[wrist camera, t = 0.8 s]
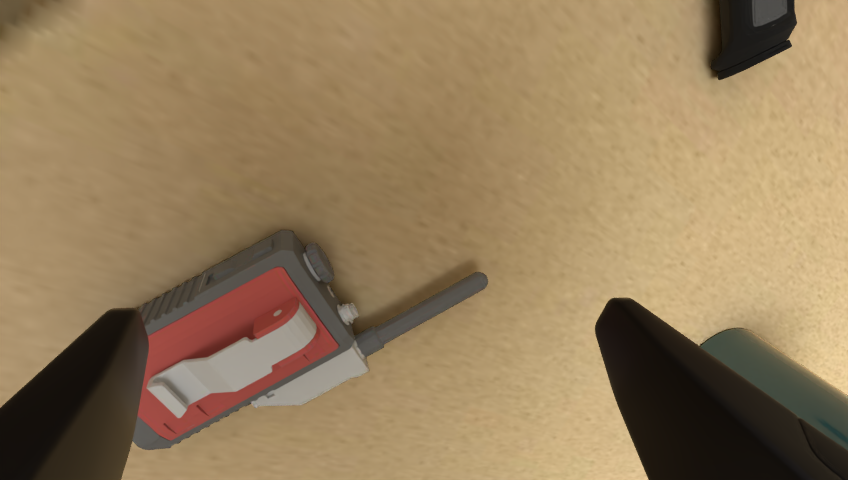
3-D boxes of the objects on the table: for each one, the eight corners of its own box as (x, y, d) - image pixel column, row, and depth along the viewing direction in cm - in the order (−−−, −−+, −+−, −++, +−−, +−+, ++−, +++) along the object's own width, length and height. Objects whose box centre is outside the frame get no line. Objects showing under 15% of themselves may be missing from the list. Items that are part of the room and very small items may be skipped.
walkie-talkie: (176, 450, 27) (485, 280, 28) (157, 521, 24) (516, 321, 24) (58, 343, 23) (422, 148, 24) (12, 407, 19) (449, 171, 20)
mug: (665, 395, 36) (831, 558, 25) (714, 320, 34) (917, 460, 23) (748, 411, 40) (926, 560, 29) (797, 343, 38) (1008, 474, 27)
